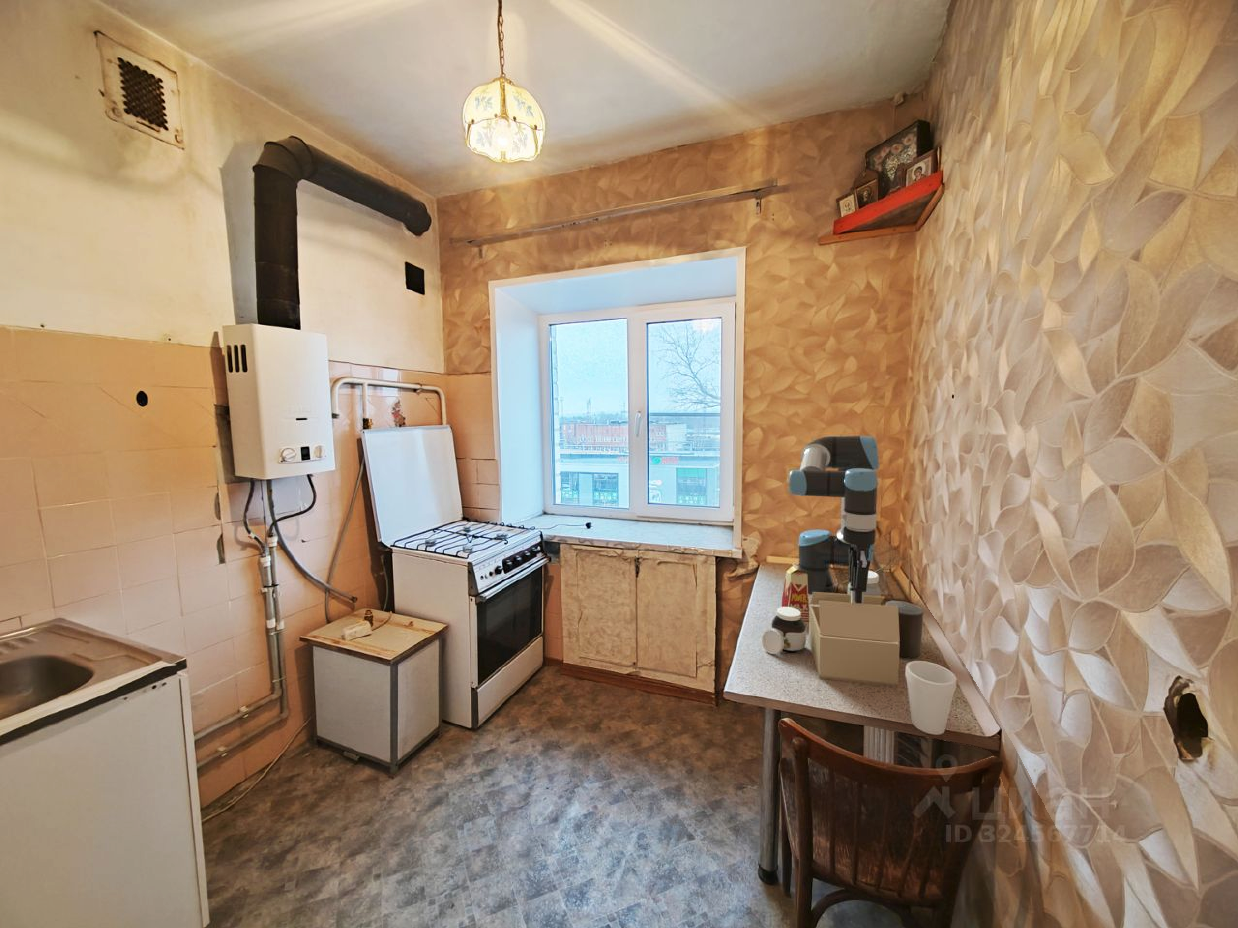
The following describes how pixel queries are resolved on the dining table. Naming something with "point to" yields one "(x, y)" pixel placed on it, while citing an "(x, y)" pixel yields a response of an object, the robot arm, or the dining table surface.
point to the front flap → (859, 621)
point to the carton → (853, 656)
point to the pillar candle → (909, 629)
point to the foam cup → (929, 695)
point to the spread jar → (785, 632)
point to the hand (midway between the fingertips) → (856, 612)
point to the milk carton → (796, 592)
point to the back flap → (843, 598)
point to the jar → (870, 585)
